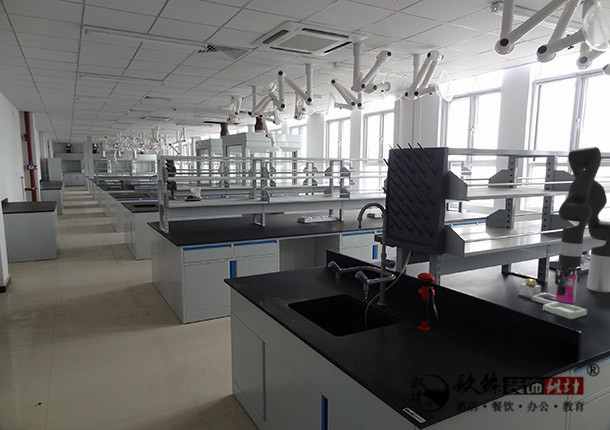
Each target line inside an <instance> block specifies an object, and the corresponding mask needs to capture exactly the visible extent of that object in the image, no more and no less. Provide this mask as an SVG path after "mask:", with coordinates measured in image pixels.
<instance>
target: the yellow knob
mask: <svg viewBox="0 0 610 430" xmlns="http://www.w3.org/2000/svg"><path fill="white" fill-rule="evenodd" d="M525 283H526V284H527V285H529V286H535V285H537V280H536V279H533V278H525Z"/></svg>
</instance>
